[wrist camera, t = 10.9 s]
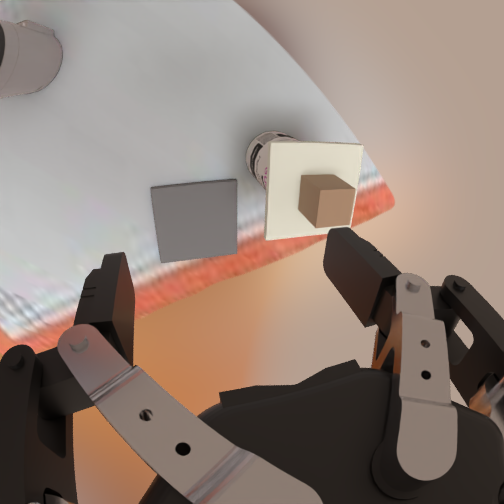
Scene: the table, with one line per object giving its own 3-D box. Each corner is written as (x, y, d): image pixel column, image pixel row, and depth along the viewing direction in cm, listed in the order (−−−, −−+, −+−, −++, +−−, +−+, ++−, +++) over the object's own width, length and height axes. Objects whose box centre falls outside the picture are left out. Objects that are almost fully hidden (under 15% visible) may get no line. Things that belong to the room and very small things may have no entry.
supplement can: (304, 153, 46) (355, 184, 34) (270, 190, 48) (309, 233, 36) (270, 119, 42) (315, 138, 29) (233, 159, 44) (262, 194, 31)
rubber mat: (150, 187, 42) (150, 189, 42) (235, 179, 45) (236, 181, 45) (161, 259, 49) (161, 263, 49) (235, 250, 52) (237, 253, 52)
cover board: (268, 141, 28) (287, 153, 24) (359, 143, 31) (388, 156, 27) (264, 237, 34) (279, 262, 30) (346, 228, 37) (369, 249, 33)
